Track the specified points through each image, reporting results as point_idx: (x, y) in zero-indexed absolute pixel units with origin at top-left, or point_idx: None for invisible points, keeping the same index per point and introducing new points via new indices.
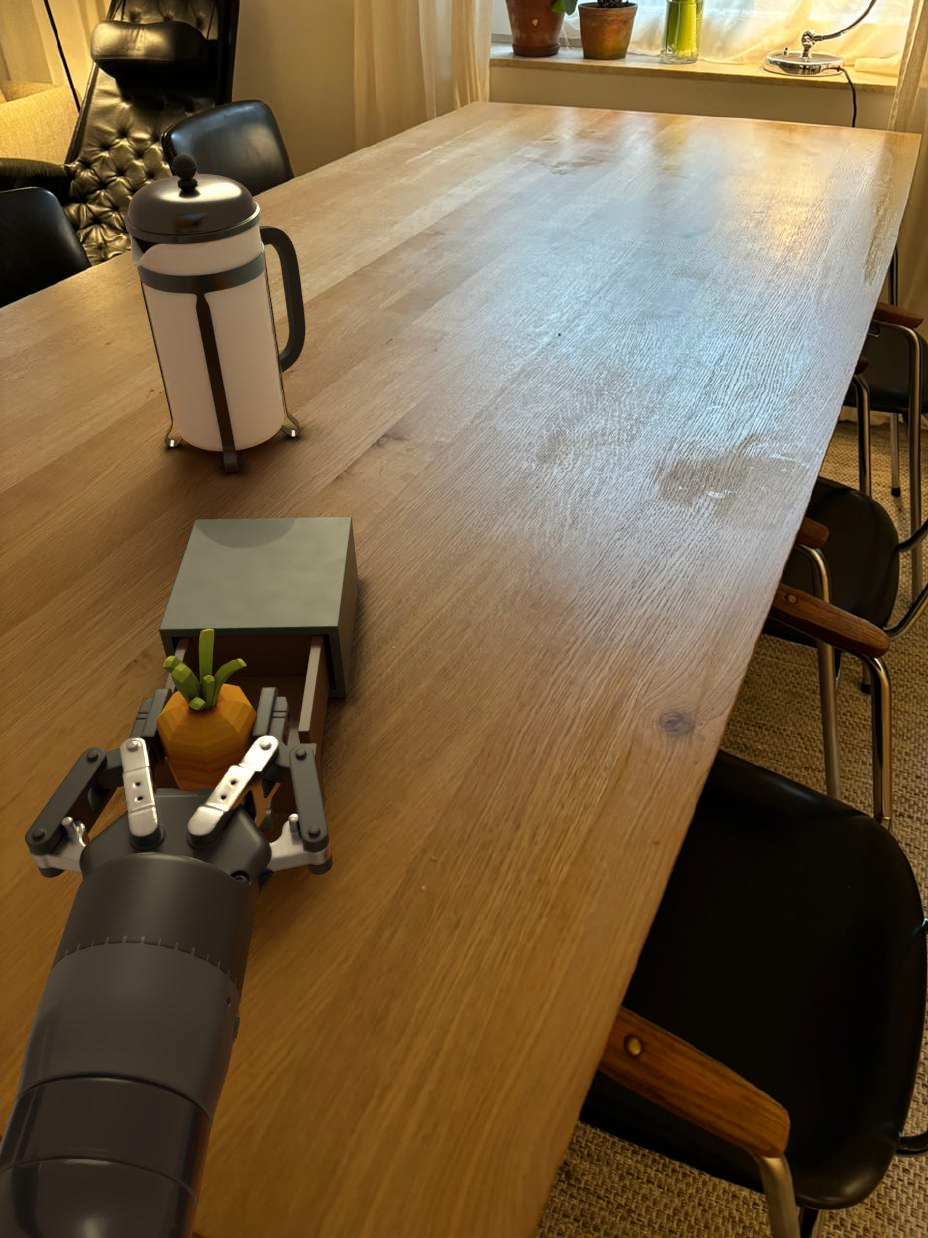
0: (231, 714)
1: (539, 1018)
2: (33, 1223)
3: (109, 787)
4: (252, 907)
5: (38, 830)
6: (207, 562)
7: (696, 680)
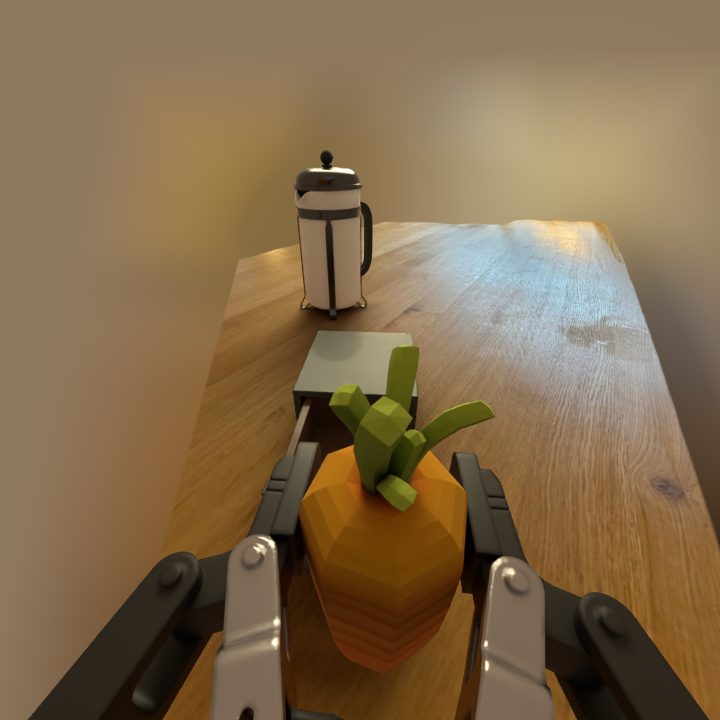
0: (443, 509)
1: None
2: None
3: (201, 632)
4: None
5: None
6: (325, 352)
7: (661, 454)
